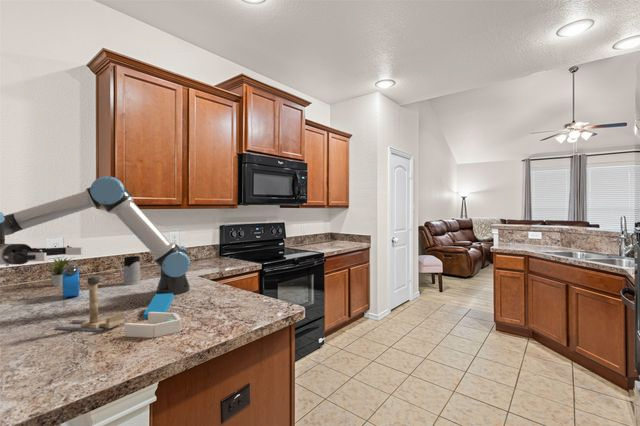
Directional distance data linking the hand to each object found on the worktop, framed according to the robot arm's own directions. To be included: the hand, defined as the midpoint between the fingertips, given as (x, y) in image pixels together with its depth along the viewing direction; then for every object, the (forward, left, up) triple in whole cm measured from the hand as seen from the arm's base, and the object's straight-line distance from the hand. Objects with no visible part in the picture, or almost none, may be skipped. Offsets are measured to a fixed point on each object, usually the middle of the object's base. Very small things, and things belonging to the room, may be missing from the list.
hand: (64, 253), depth 109 cm
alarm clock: (0, -48, -26) cm, 55 cm away
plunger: (-10, +10, -26) cm, 29 cm away
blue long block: (-30, +3, -27) cm, 40 cm away
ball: (-29, +28, -24) cm, 47 cm away
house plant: (+5, -82, -26) cm, 86 cm away
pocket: (-26, +25, -26) cm, 44 cm away
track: (-6, +6, -26) cm, 27 cm away
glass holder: (-25, -63, -26) cm, 73 cm away
